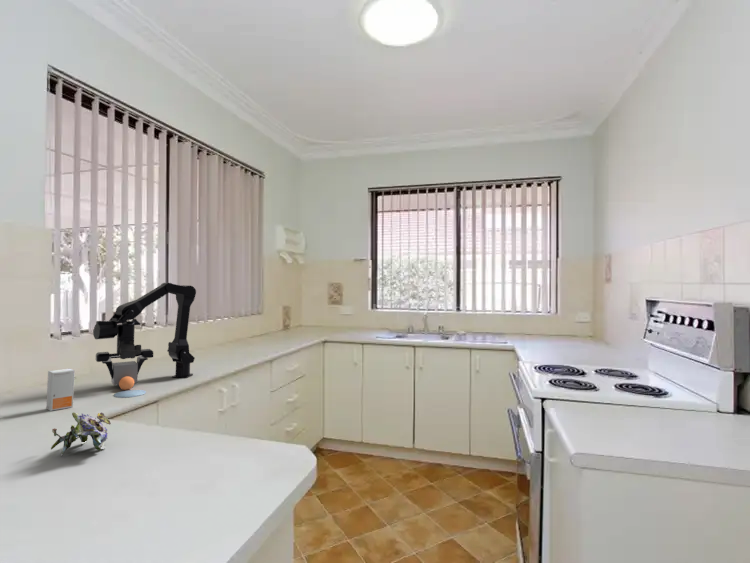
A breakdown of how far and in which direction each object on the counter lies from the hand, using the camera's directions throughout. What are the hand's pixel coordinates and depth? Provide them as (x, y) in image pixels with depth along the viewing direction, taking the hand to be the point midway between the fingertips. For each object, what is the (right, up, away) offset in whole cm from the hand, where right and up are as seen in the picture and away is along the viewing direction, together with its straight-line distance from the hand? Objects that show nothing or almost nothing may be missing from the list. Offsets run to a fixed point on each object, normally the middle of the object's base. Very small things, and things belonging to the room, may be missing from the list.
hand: (124, 377), depth 158 cm
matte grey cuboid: (0, -2, 0) cm, 2 cm away
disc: (+9, -4, -11) cm, 14 cm away
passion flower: (+28, -3, -62) cm, 68 cm away
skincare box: (-3, -3, -29) cm, 29 cm away
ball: (+4, -1, -5) cm, 6 cm away
